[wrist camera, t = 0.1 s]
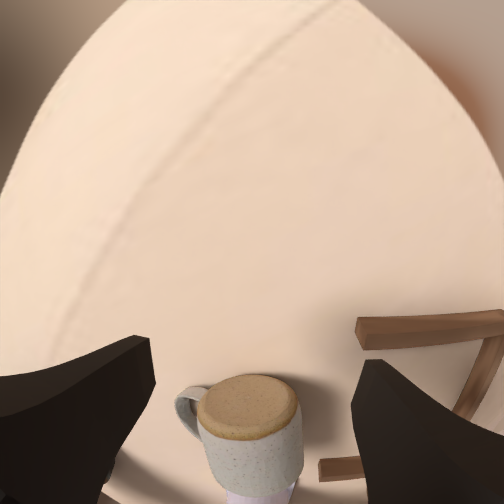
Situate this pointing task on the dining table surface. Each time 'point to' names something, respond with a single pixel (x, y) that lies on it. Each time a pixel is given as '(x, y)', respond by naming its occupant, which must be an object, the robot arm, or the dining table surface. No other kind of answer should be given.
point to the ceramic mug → (247, 432)
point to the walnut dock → (427, 334)
